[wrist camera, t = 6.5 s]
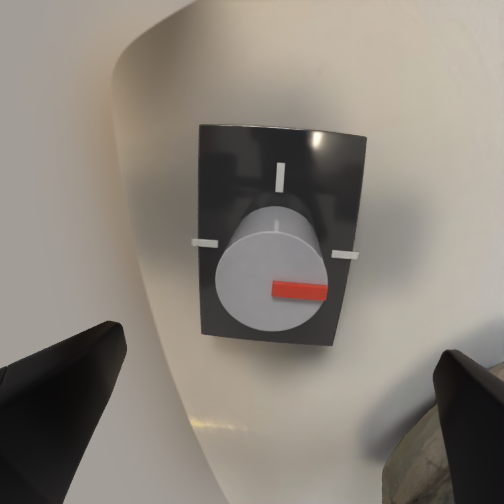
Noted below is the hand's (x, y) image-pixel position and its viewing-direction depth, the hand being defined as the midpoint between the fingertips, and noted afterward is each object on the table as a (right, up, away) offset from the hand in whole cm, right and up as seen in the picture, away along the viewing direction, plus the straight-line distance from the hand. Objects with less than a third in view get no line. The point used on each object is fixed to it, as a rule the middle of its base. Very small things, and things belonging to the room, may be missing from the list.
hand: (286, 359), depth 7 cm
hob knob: (0, +3, +8) cm, 9 cm away
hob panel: (+1, +4, +11) cm, 12 cm away
